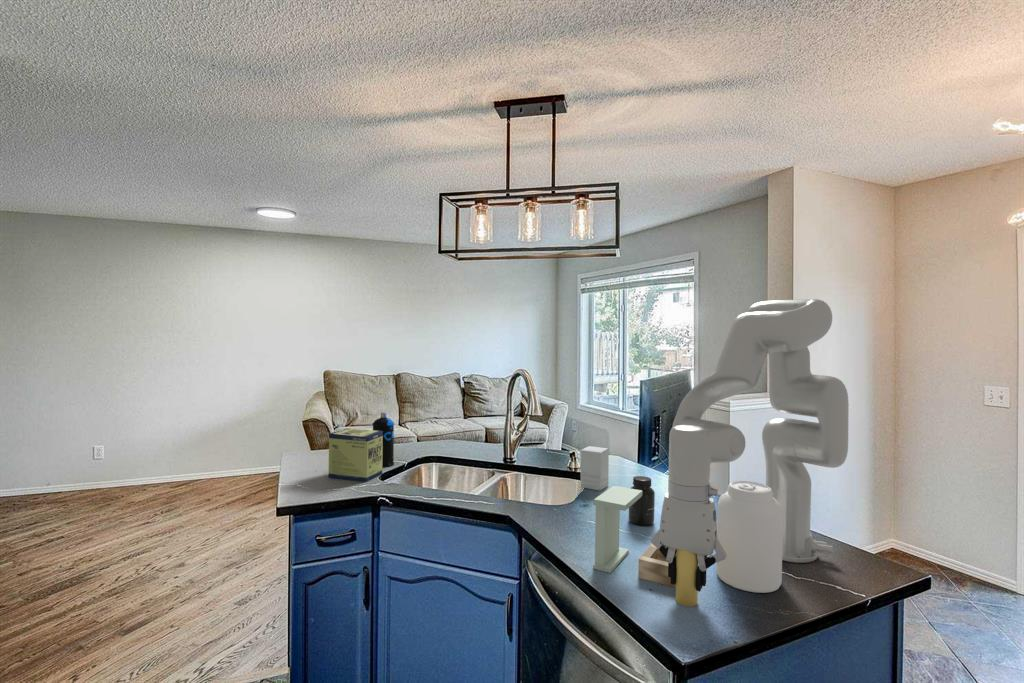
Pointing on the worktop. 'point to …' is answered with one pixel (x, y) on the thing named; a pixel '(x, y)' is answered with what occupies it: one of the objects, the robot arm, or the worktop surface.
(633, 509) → the supplement bottle
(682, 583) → the peg
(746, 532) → the can
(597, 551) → the pale green stand
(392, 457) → the black bottle
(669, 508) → the robot arm
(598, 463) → the supplement box
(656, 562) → the socket block
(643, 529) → the worktop surface
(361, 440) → the protein box
